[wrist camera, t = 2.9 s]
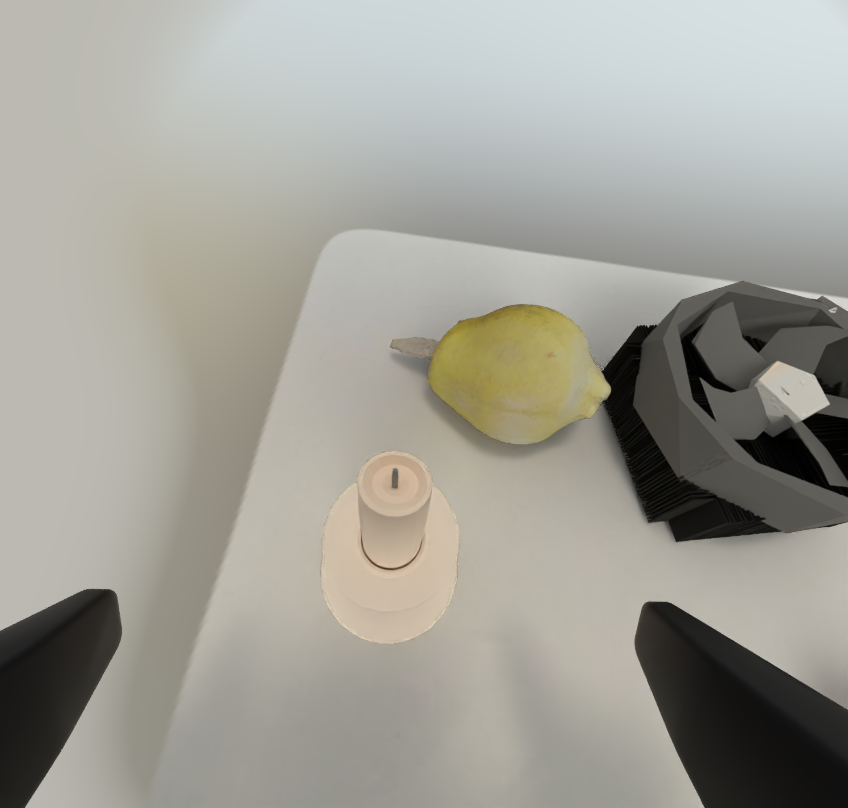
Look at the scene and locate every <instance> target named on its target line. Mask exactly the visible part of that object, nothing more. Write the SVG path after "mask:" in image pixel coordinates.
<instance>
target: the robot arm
mask: <svg viewBox="0 0 848 808" xmlns="http://www.w3.org/2000/svg"><path fill="white" fill-rule="evenodd" d="M121 636H122V626H121V620H120V612H119V605H118V599H117V595H116V593H115V592H114V591H112V590H110V589H86V590H83V591H81V592H79V593H77V594H75V595H73V596H70V597H68V598H66V599H64V600H63V601H60V602H58V603H56V604H54V605H52V606H50V607H48V608H46V609H44V610H42V611H40V612H38V613H36V614H34V615H32V616H30V617H28V618H26V619H24V620H21V621H20V622H17V623H16V624H13V625H11V626H9V627H7V628H5V629H3V630H1V631H0V808H25V806H26V805H27V803H28V802H29V800H30V799H31V797H32V795H33V794H34V793H35V791H36V789H37V788H38V786H39V785H40V783H41V782H42V780H43V779H44V777H45V776H46V774H47V773H48V771H49V769H50V768H51V766H52V765H53V763H54V761H55V760H56V758H57V756H58V755H59V754H60V752H61V750H62V748H63V747H64V745H65V743H66V741H67V740H68V738H69V736H70V735H71V733H72V731H73V729H74V727H75V725H76V724H77V722H78V720H79V718H80V716H81V714H82V712H83V711H84V709H85V707H86V705H87V703H88V701H89V700H90V698H91V696H92V694H93V692H94V690H95V689H96V687H97V685H98V683H99V681H100V679H101V677H102V675H103V674H104V672H105V670H106V668H107V667H108V665H109V663H110V661H111V659H112V657H113V655H114V654H115V652H116V650H117V648H118V646H119V643H120V640H121ZM635 650H636V654H637V657H638V659H639V662H640V664H641V666H642V669H643V671H644V674H645V676H646V679H647V681H648V684H649V686H650V689H651V691H652V693H653V696H654V698H655V701H656V703H657V706H658V708H659V711H660V713H661V715H662V718H663V720H664V723H665V725H666V728H667V730H668V733H669V735H670V737H671V740H672V742H673V744H674V746H675V749H676V751H677V753H678V755H679V757H680V759H681V761H682V764H683V766H684V768H685V770H686V772H687V774H688V776H689V778H690V780H691V782H692V784H693V786H694V787H695V789H696V791H697V793H698V795H699V797H700V799H701V801H702V803H703V805H704V807H705V808H848V710H847V709H845V708H844V707H842V706H840V705H839V704H837V703H835V702H834V701H832V700H830V699H829V698H827V697H825V696H824V695H822V694H820V693H819V692H817V691H816V690H814V689H812V688H811V687H809V686H807V685H806V684H804V683H802V682H801V681H799V680H797V679H796V678H794V677H792V676H791V675H789V674H787V673H786V672H784V671H782V670H781V669H779V668H777V667H776V666H774V665H773V664H771V663H769V662H768V661H766V660H764V659H763V658H761V657H759V656H758V655H756V654H754V653H753V652H751V651H749V650H748V649H746V648H744V647H743V646H741V645H740V644H738V643H736V642H735V641H733V640H731V639H730V638H728V637H726V636H725V635H723V634H721V633H720V632H718V631H716V630H715V629H713V628H711V627H710V626H708V625H706V624H705V623H703V622H702V621H700V620H698V619H697V618H695V617H693V616H692V615H690V614H688V613H687V612H685V611H683V610H682V609H680V608H678V607H677V606H675V605H673V604H672V603H669V602H646V603H645V604H644V605H643V607H642V610H641V614H640V618H639V622H638V627H637V631H636V635H635Z"/></svg>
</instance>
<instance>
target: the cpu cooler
mask: <svg viewBox="0 0 848 808" xmlns="http://www.w3.org/2000/svg"><path fill="white" fill-rule="evenodd" d="M602 374H603V375H604V378H605V380H606V381H607V383H608V384H609V385H610V387H611V393H610V394H609V396H608V398H607V399H606V401H605V402H608V403H607V404H606V406H607V409H608V408H609V409H608V411H609V414H610V416H612V417H611V419H613V420H612V422H615V423H614V424H613V425H615V426H614V428H616V429H618V430H617V431H616V433H618V434H617V436H620V437H619V438H621V439H620V440H619V442H622V443H621V444H623V445H622V446H621V448H623V449H622V451H624V452H623V453H625V452H629V453H628V454H627V455H626V456H628V457H627V458H630V459H629V460H628V461H626V462H627V463H629V464H628V466H631V467H629V469H632V470H631V471H630V473H632V474H637V475H635V476H634V477H632V478H633V479H635V480H633V481H634V482H639V483H638V484H636V485H638V486H637V487H636V489H638V488H640V489H638V490H637V492H640V493H638V495H642V496H640V499H641V498H645V499H644V500H642V501H648V502H646V503H645V504H643V505H645V506H644V507H643V509H644V508H648V509H646V510H644V511H645V512H648V513H646V516H647V515H651V516H649V517H647V519H650V520H648V522H657V521H666V520H669V523H670V526H671V528H672V531H673V534H674V537H675V540H676V542H678V541H689V540H695V539H696V540H698V539H699V540H700V539H706V538H707V539H708V538H709V539H711V538H716V537H717V538H718V537H728V536H729V537H731V536H741V535H747V534H748V535H750V534H751V535H752V534H759V533H769V532H770V533H772V532H782V531H783V532H785V533H791V532H796V531H801V530H806V529H812V528H813V529H814V528H821V527H831V526H835V525H838V524H842V523H845V522H848V311H846V310H844V309H843V308H841V307H840V306H838V305H836V304H835V303H833V302H832V301H830V300H828V299H827V298H825V297H823V296H821V297H820V298H819V299H817V300H816V299H809V298H805V297H801V296H797V295H793V294H790V293H786V292H782V291H778V290H775V289H771V288H767V287H763V286H760V285H756V284H752V283H748V282H745V281H741V282H738V283H734V284H731V285H728V286H725V287H722V288H718V289H715V290H712V291H709V292H705V293H702V294H699V295H696V296H692V297H689V298H686V299H683V300H681V301H680V302H679V303H678V304H677V305H676V306H675V308H674V309H673V310H672V311H671V312H670V313H669V314H668V315H667V316H666V317H665V318H664V319H663V320H662V322H661V323H660V324H659V325H655V326H654V325H652V326H651V325H650V326H649V327H647V325H646V327H645V325H643V326H642V325H640V326H639V327H638V326H637V327H636V329H635V330H634V331H633V332H632V334H631V335H630V336H629V338H628V339H627V340H626V342H625V343H624V344H623V345H622V347H621V348H620V349H619V350H618V352H617V353H616V354H615V356H614V357H613V358H612V360H611V361H610V362H609V363H608V365H607V366H606V367H605V369H604V370H603V371H602ZM633 472H634V473H633ZM640 481H641V482H640ZM646 504H647V505H646Z"/></svg>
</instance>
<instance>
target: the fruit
mask: <svg viewBox="0 0 848 808" xmlns="http://www.w3.org/2000/svg"><path fill="white" fill-rule="evenodd" d="M390 347H392V348H393V349H396V350H399V351H400V352H403V353H406V354H409V355H413V356H416V357H421V358H427V359H429V360H431V361H430V366H429V370H428V384H429V385H430V386H431V388H432V389H433V391H434V392H435V393H436V394H437V395H438V396H439V397H440V398H441V399H442V400H443V401H444V402H446V403H447V404H448V405H449V406H451V407H452V408H453V409H454V410H455V411H456V412H458V413H459V414H460V415H461V416H462V417H464V418H465V419H467V420H468V421H469V422H470V423H471V424H472V425H473V426H475V427H476V428H477V429H478V430H480V431H481V432H482V433H484V434H486V435H488V436H490V437H492V438H495V439H497V440H499V441H503V442H506V443H512V444H532V443H536V442H539V441H542V440H545V439H547V438H548V437H550V436H551V435H552V434H554V433H555V432H557V431H558V430H560V429H561V428H562V427H564V426H566V425H568V424H570V423H572V422H574V421H578V420H581V419H585V418H591V417H592V416H593V414H594V413H595V412H596V411H597V410H598V408H599V406H600V404H601V403H602V401H603V400H606V399H607V398H608V396H609V394H610V393H611V387H610V385H609V384H608V383H607V381H606V380H605V378H604V375H603V374H602V372H601V371H600V369H599V368H598V366H597V365H596V363H595V362H594V360H593V358H592V356H591V353H590V349H589V344H588V341H587V339H586V336H585V335H584V333H583V331H582V330H581V329H580V328H579V326H577V325H576V324H575V323H574V322H573V321H572V320H571V319H569V318H568V317H566V316H564V315H563V314H561V313H559V312H557V311H555V310H552V309H550V308H547V307H543V306H537V305H525V304H519V305H511V306H506V307H503V308H500V309H498V310H496V311H493V312H491V313H489V314H487V315H484V316H481V317H477V318H470V319H466V320H463V321H459V322H458V324H456V325H455V326H454V327H453V328H452V329H451V330H449V331H448V332H447V333H446V334H445V335H444V337H443V338H442V340H441V341H440V342H437V341H435V340H432V339H425V338H418V337H413V338H408V339H395V340H392V342H391V345H390Z"/></svg>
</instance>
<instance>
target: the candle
mask: <svg viewBox="0 0 848 808" xmlns="http://www.w3.org/2000/svg"><path fill="white" fill-rule="evenodd" d="M322 546H323V557H322V565H321V572H320V574H321V582H322V591H323V594H324V597H325V599H326V602H327V604H328V607H329V609H330V611H331V612H332V614H333V615H334V616H335V617H336V619H337V620H338V621H339V623H340V624H341V625H342V626H343V627H344V628H346V629H347V630H349V631H350V632H351V633H353V634H354V635H355V636H357V637H359V638H362V639H365V640H368V641H371V642H373V643H383V644H396V643H400V642H403V641H407V640H411V639H414V638H415V637H417V636H419V635H420V634H422V633H424V632H425V631H427V630H428V629H430V628H431V627H432V626H433V625H434V624H435V623H436V622H437V621H438V620H439V618H440V617H441V616H442V615H443V614H444V612H445V611H446V609H447V607H448V605H449V603H450V601H451V599H452V597H453V594H454V590H455V585H456V581H457V556H458V552H459V527H458V524H457V520H456V517H455V513H454V511H453V509H452V508H451V506H450V504H449V502H448V501H447V499H446V497H445V496H444V495H443V494H442V493H441V492H440V491H439V490H438V489H437V488H436V487H435V486H434V485H432V477H431V474H430V471H429V470H428V468H427V467H426V465H425V464H424V463H423V462H422V461H421V460H419V459H418V458H416V457H415V456H413V455H411V454H408V453H404V452H398V451H390V452H383V453H381V454H378V455H375V456H374V457H372V458H371V459H369V460H368V461H367V462H366V463H365V464H364V465H363V467H362V468H361V470H360V472H359V475H358V480H357V481H356V482H355V483H354V484H352V485H351V486H350V487H349V488H347V489H346V490H345V491H344V492H343V493H342V494H341V495H340V496H339V498H338V499H337V500H336V502H335V503H334V504H333V506H332V507H331V510H330V512H329V514H328V517H327V519H326V522H325V524H324V531H323V538H322Z"/></svg>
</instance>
